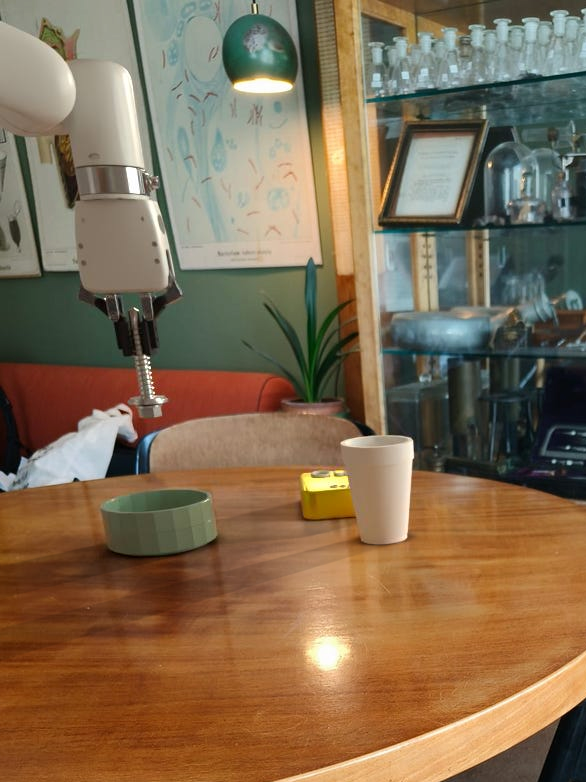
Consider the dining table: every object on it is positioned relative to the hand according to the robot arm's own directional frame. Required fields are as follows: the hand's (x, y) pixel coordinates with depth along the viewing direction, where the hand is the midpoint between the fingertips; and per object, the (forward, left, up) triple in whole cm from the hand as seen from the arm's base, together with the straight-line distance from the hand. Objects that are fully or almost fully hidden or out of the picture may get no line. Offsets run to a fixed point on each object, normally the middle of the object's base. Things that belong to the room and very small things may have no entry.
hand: (140, 354), depth 108 cm
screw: (0, 0, -8) cm, 8 cm away
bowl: (-2, +4, -25) cm, 25 cm away
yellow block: (+23, +20, -25) cm, 39 cm away
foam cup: (+28, 0, -25) cm, 38 cm away
